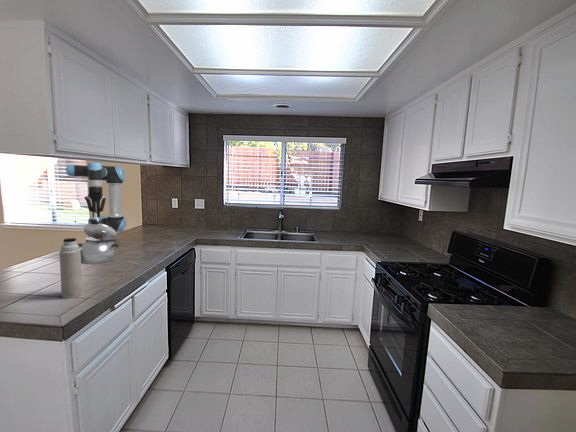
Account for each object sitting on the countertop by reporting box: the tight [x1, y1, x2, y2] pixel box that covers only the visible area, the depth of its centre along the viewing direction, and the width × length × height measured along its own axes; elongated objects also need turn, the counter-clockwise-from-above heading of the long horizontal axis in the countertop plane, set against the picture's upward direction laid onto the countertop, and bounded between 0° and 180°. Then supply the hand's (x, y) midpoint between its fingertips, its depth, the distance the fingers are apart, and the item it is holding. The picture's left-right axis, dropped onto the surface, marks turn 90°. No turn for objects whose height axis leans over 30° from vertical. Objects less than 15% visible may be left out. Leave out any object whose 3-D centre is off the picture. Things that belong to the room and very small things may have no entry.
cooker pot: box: [76, 240, 120, 265], centre depth 197 cm, size 18×25×12 cm
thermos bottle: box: [59, 237, 83, 299], centre depth 139 cm, size 8×8×28 cm
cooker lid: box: [83, 219, 117, 241], centre depth 198 cm, size 23×19×4 cm
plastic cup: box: [84, 237, 99, 242], centre depth 211 cm, size 11×11×12 cm
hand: (96, 222), depth 193 cm, fingers closed
